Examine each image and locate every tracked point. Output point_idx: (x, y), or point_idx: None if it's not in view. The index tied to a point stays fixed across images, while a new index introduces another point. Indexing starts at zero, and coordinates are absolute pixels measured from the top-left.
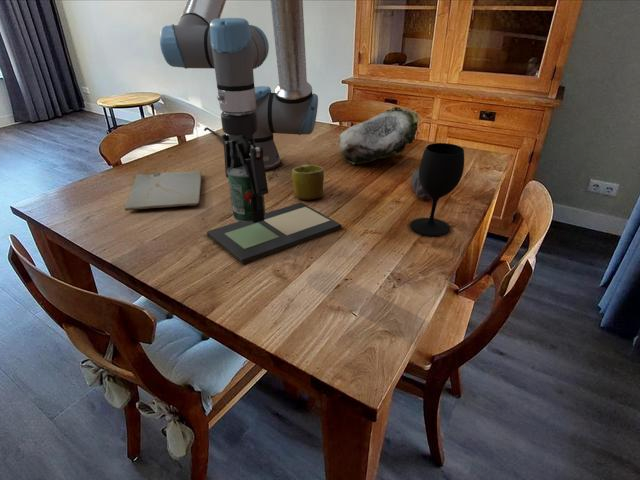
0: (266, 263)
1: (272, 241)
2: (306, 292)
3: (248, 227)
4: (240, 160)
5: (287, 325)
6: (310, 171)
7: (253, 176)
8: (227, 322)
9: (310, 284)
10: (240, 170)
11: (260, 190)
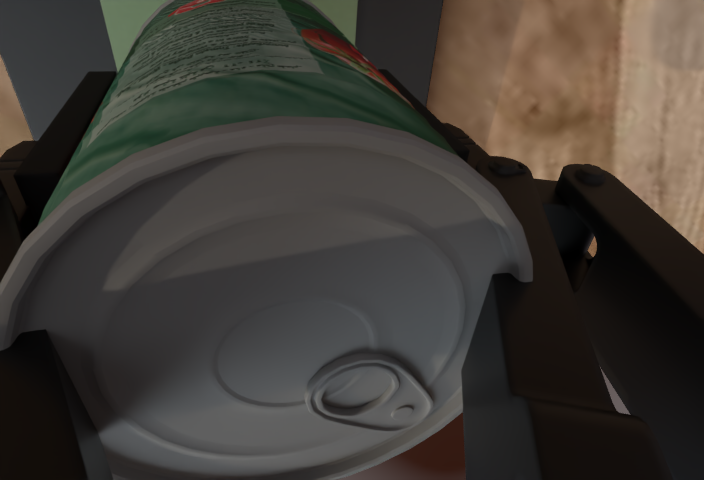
0: (464, 118)
1: (376, 4)
2: (683, 105)
3: (129, 24)
4: (92, 470)
5: (690, 220)
6: None
7: (607, 375)
8: None
9: (679, 64)
10: (239, 386)
11: (583, 250)
